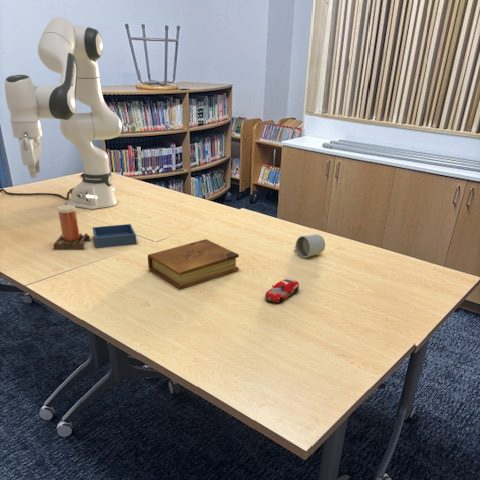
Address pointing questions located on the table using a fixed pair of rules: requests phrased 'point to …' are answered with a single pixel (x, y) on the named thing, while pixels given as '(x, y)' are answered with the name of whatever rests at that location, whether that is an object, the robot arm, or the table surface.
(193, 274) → the diary
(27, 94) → the robot arm
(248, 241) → the table surface
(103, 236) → the tray
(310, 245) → the ceramic mug
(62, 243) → the drying rack
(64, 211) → the cup
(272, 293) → the race car
